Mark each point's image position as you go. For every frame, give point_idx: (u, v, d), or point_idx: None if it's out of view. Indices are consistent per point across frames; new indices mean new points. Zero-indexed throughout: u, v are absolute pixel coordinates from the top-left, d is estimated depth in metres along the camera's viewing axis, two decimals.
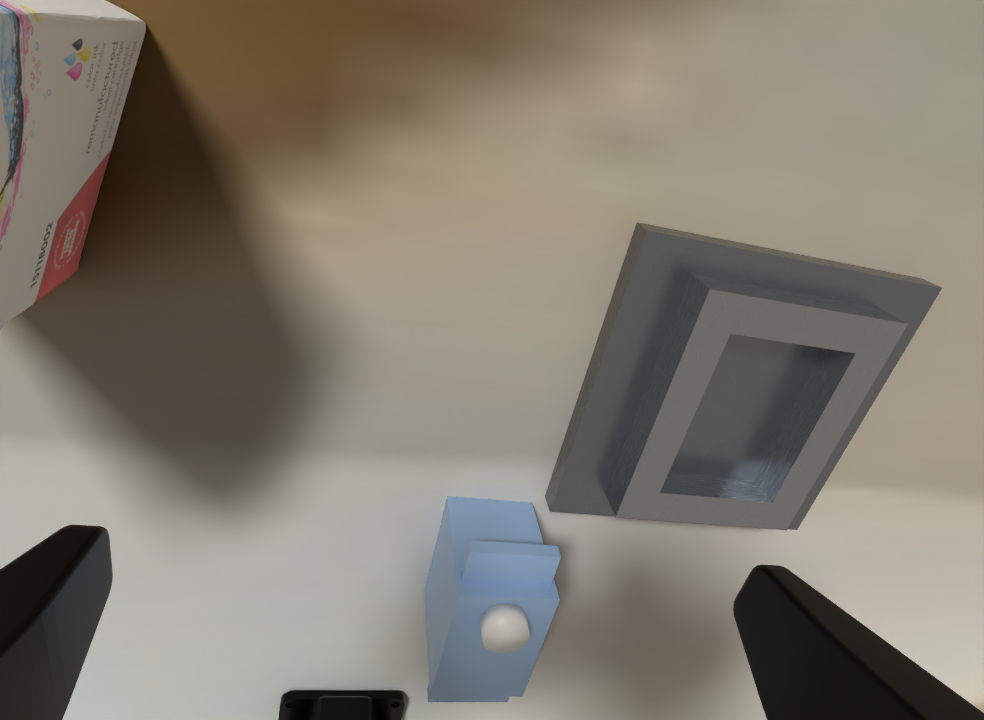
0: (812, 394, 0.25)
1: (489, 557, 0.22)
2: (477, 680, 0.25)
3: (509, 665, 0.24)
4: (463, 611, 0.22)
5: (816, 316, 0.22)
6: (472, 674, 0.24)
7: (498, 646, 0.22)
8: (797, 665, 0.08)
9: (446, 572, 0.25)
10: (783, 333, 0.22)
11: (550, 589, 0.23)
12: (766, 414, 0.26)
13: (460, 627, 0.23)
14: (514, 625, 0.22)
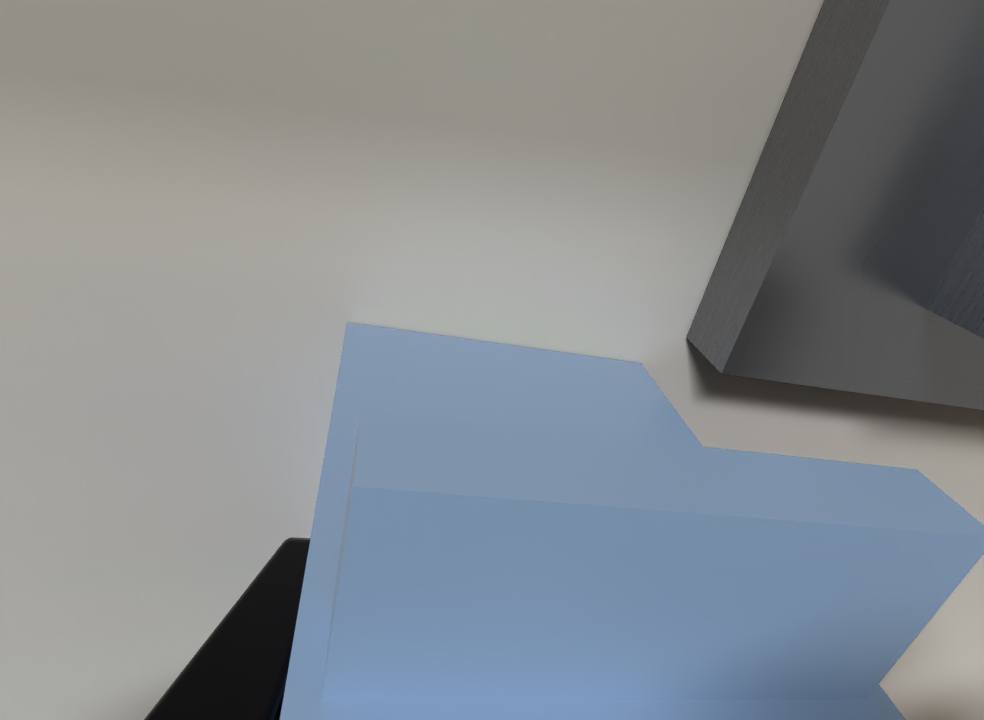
0: None
1: (519, 534, 0.03)
2: None
3: None
4: None
5: None
6: None
7: None
8: None
9: None
10: None
11: None
12: None
13: None
14: None
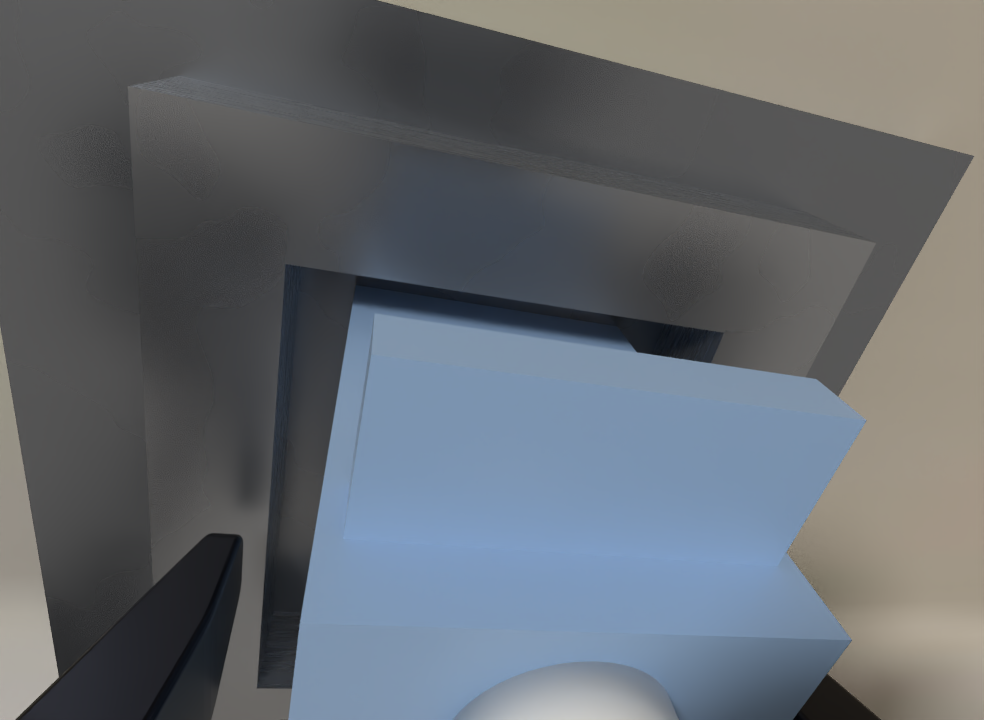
0: None
1: (493, 400, 0.04)
2: None
3: None
4: (346, 708, 0.04)
5: (575, 209, 0.07)
6: None
7: None
8: None
9: None
10: (475, 266, 0.07)
11: (785, 587, 0.05)
12: None
13: None
14: None
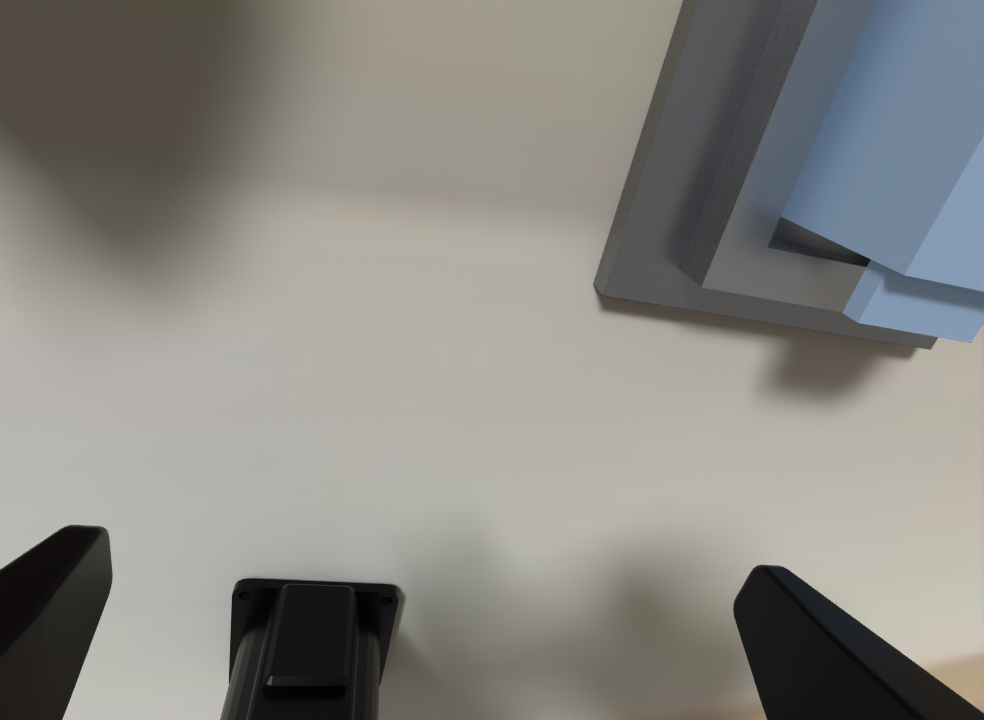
0: None
1: None
2: None
3: None
4: None
5: None
6: None
7: None
8: (797, 665, 0.08)
9: (932, 52, 0.14)
10: None
11: None
12: None
13: None
14: None
